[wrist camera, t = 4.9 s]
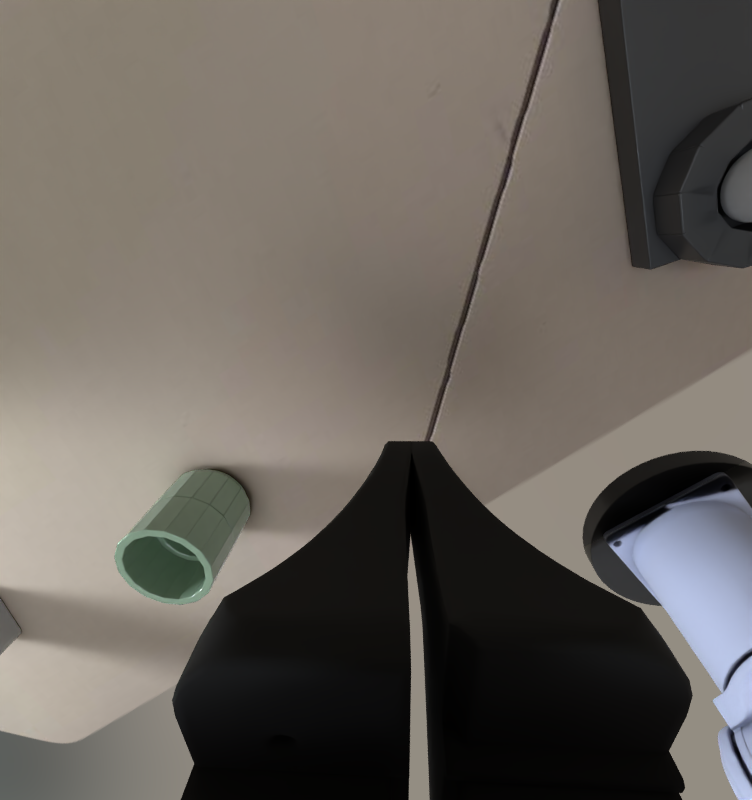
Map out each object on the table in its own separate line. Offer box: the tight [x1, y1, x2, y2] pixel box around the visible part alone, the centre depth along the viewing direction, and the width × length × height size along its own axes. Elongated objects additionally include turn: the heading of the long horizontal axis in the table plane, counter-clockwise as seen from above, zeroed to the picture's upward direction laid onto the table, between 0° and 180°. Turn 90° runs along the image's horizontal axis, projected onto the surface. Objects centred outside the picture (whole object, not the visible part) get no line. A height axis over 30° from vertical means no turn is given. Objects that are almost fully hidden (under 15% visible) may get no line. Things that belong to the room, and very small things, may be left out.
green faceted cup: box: [114, 469, 250, 605], centre depth 22 cm, size 5×5×6 cm
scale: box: [599, 0, 752, 269], centre depth 13 cm, size 14×6×3 cm, turn 21°
